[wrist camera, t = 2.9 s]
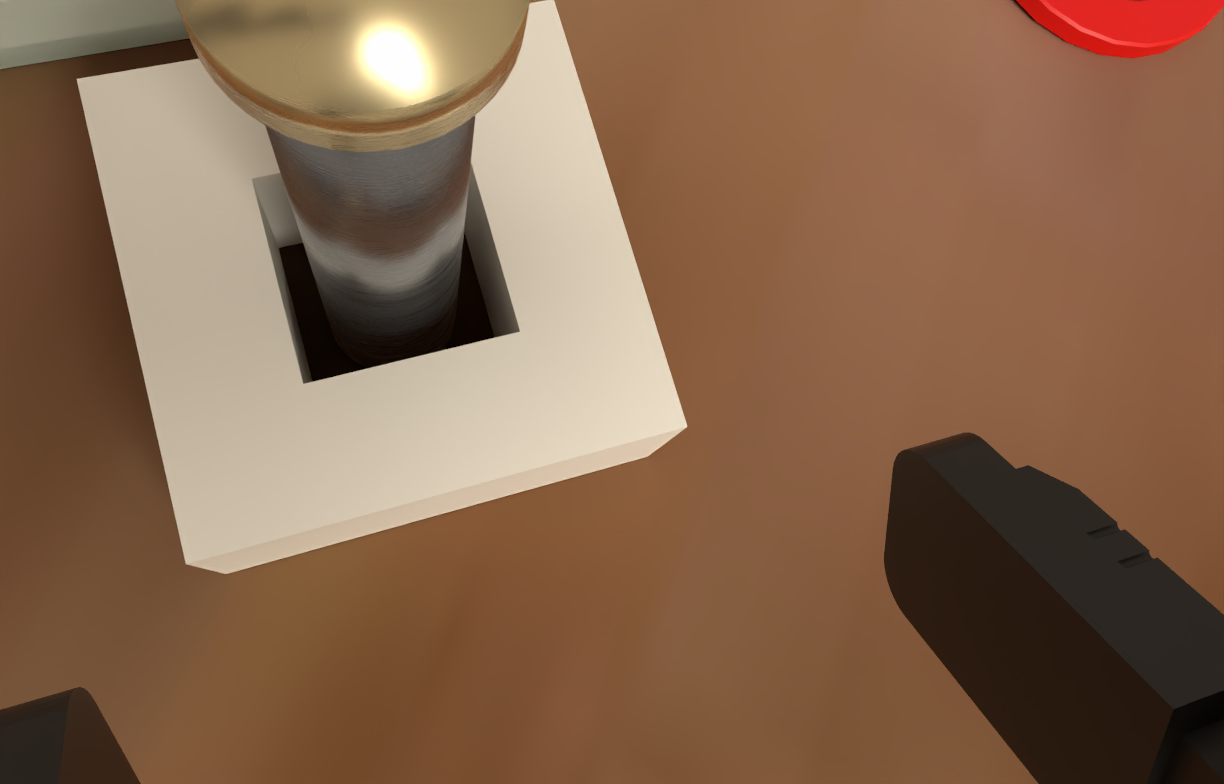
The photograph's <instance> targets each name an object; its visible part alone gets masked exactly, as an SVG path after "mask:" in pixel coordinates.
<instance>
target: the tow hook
mask: <svg viewBox="0 0 1224 784" xmlns="http://www.w3.org/2000/svg"><path fill="white" fill-rule="evenodd" d="M1016 1H1017V2H1018V3H1019V4H1020V5H1021V6H1022V7H1023V8H1024V9H1025V10H1026V11H1027V12H1028V13H1029V14H1030V15H1031V17H1032V18H1033V19H1034V20H1035V21H1036V22H1038V23H1039V24H1041V25H1042V26H1044V27H1045V28H1047V29H1048V30H1050V31H1051V32H1053V33H1054V34H1056V35H1057V36H1059V37H1060V38H1062V39H1063V40H1065V41H1066V42H1068V43H1071V44H1073V45H1076V46H1079V47H1081V48H1084V49H1087V50H1089V51H1092V52H1094V53H1097V54H1100V55H1108V56H1117V57H1126V58H1137V57H1143V56H1148V55H1154V54H1160V53H1164V52H1165V51H1167V50H1169V49H1171V48H1173V47H1175V46H1177V45H1178V44H1180V43H1182V42H1184V41H1186V40H1188V39H1189V38H1191V37H1192V36H1194V35H1195V34H1197V33H1198V32H1200V31H1201V30H1202V29H1204V28H1205V27H1206V26H1207V24H1208V23H1209V22H1210V21H1211V20H1212V19H1213V18H1214V17H1215V16H1216V15H1217V13H1218V12H1219V11H1220V10H1221V9H1222V8H1223V6H1224V0H1137V1H1135V0H1016Z"/></svg>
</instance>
